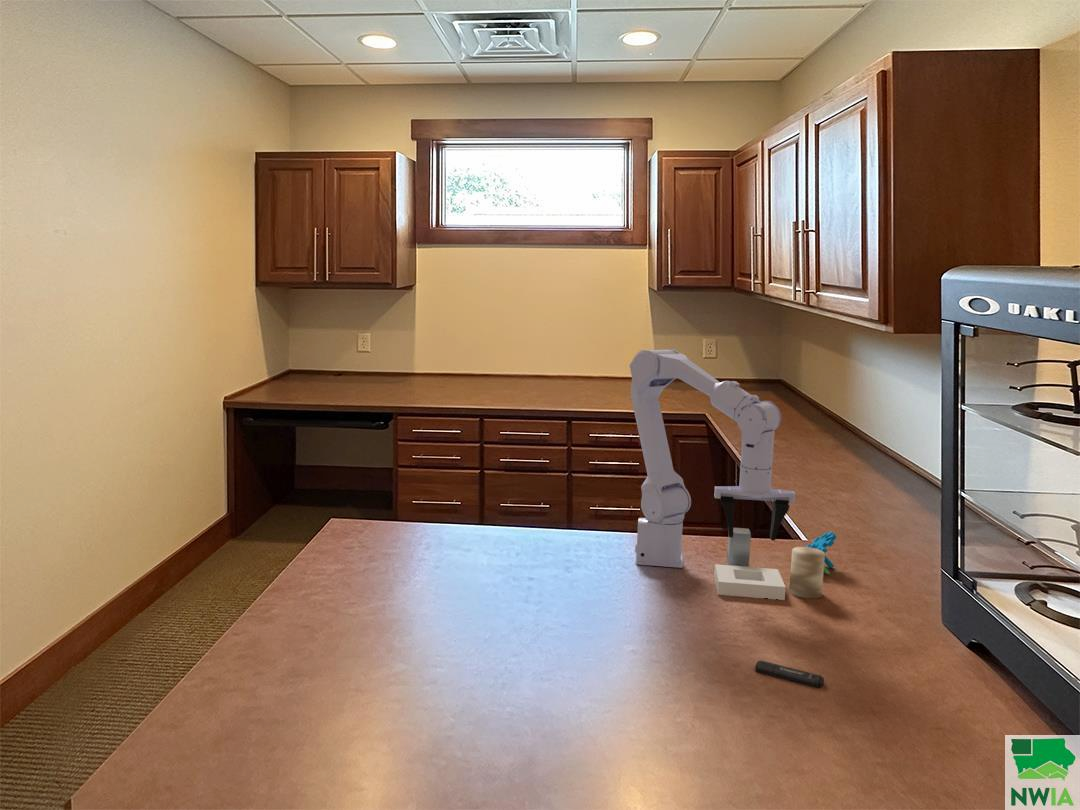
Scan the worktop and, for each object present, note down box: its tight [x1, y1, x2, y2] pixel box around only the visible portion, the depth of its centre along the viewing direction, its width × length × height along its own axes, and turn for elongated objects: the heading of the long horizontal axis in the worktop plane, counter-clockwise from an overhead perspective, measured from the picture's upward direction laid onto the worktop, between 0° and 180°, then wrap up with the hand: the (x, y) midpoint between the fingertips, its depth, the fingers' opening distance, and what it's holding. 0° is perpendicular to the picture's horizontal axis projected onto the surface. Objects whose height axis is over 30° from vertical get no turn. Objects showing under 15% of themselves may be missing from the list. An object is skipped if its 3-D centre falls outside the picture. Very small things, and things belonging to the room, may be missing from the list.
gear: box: [805, 531, 838, 575], centre depth 162 cm, size 11×6×10 cm
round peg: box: [788, 546, 826, 599], centre depth 147 cm, size 6×6×8 cm
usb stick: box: [754, 660, 825, 689], centre depth 113 cm, size 10×3×2 cm, turn 59°
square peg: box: [726, 527, 752, 567], centre depth 159 cm, size 4×4×8 cm
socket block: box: [713, 563, 786, 601], centre depth 149 cm, size 12×10×2 cm
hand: (751, 537), depth 148 cm, fingers open, 7 cm apart
